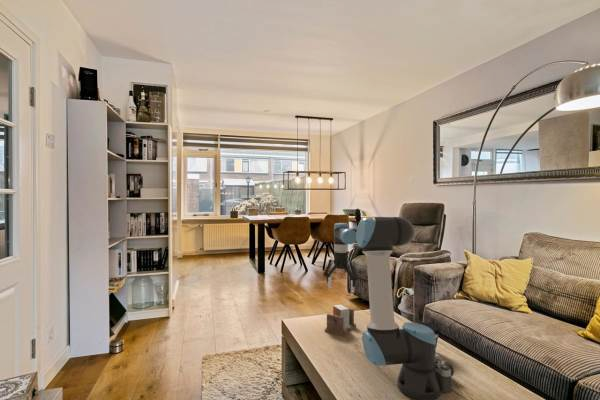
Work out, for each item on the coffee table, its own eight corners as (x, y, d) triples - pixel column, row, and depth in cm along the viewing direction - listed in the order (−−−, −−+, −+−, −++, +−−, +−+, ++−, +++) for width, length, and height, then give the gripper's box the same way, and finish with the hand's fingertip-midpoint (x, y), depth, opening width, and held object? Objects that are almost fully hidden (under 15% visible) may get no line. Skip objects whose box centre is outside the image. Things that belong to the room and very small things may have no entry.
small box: (332, 324, 176) (332, 305, 176) (341, 322, 178) (341, 303, 178) (340, 329, 169) (340, 310, 168) (349, 328, 171) (349, 308, 171)
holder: (342, 337, 163) (343, 319, 163) (324, 332, 169) (324, 314, 169) (356, 325, 178) (356, 309, 178) (338, 321, 184) (338, 305, 184)
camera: (466, 390, 119) (466, 364, 119) (442, 394, 116) (442, 367, 116) (438, 368, 134) (438, 344, 134) (417, 371, 132) (417, 347, 131)
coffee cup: (442, 359, 141) (442, 332, 141) (416, 357, 143) (416, 330, 143) (436, 348, 152) (437, 323, 152) (412, 345, 154) (413, 321, 154)
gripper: (365, 252, 169) (365, 292, 169) (324, 248, 183) (324, 285, 183) (359, 254, 163) (359, 296, 163) (317, 250, 177) (317, 288, 177)
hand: (340, 290), depth 173 cm, fingers open, 13 cm apart
